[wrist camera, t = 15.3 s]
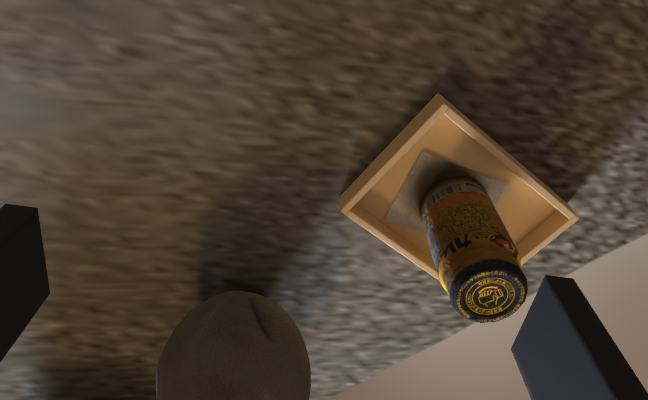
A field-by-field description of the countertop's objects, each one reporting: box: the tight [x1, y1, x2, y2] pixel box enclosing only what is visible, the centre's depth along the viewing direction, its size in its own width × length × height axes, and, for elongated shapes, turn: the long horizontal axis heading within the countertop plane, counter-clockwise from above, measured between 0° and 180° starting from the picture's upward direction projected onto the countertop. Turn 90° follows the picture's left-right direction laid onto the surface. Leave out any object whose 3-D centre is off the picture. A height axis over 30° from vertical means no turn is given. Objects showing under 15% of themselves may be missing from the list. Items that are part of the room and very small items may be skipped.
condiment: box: [384, 151, 528, 323], centre depth 40 cm, size 7×8×12 cm
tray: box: [340, 93, 579, 280], centre depth 44 cm, size 16×12×2 cm
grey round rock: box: [156, 291, 311, 400], centre depth 46 cm, size 14×14×15 cm
